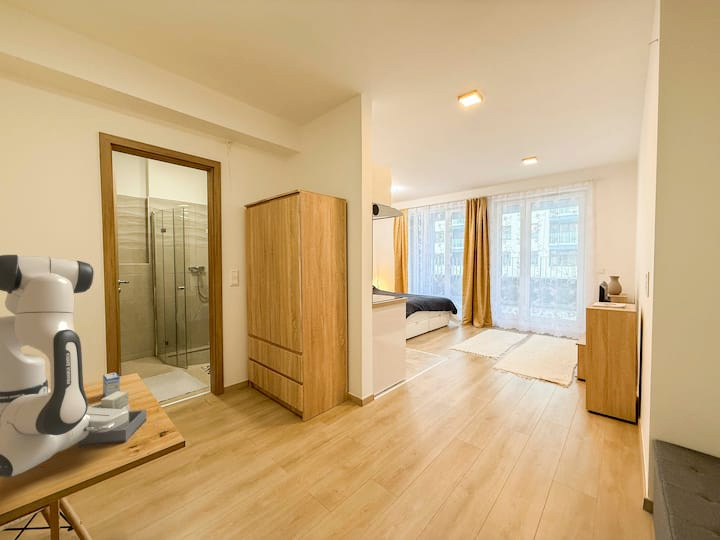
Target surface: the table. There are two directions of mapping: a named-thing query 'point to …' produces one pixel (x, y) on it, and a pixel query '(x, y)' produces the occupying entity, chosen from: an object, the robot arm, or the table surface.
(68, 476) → the table surface
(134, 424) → the tray
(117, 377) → the medicine box
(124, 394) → the skincare box
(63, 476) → the table surface
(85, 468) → the table surface
